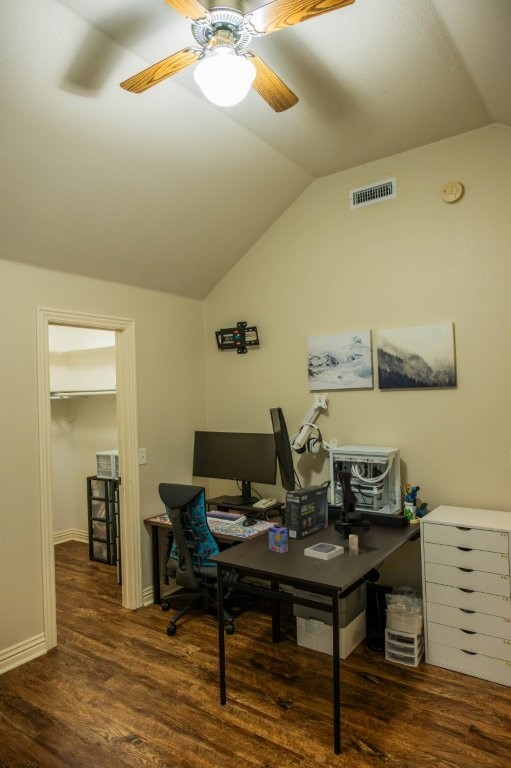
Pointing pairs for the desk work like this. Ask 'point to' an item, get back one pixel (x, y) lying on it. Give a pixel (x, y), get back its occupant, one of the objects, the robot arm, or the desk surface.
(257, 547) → the desk surface
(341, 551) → the housing
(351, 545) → the beige domed cylinder
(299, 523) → the router box
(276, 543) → the ink cartridge box
